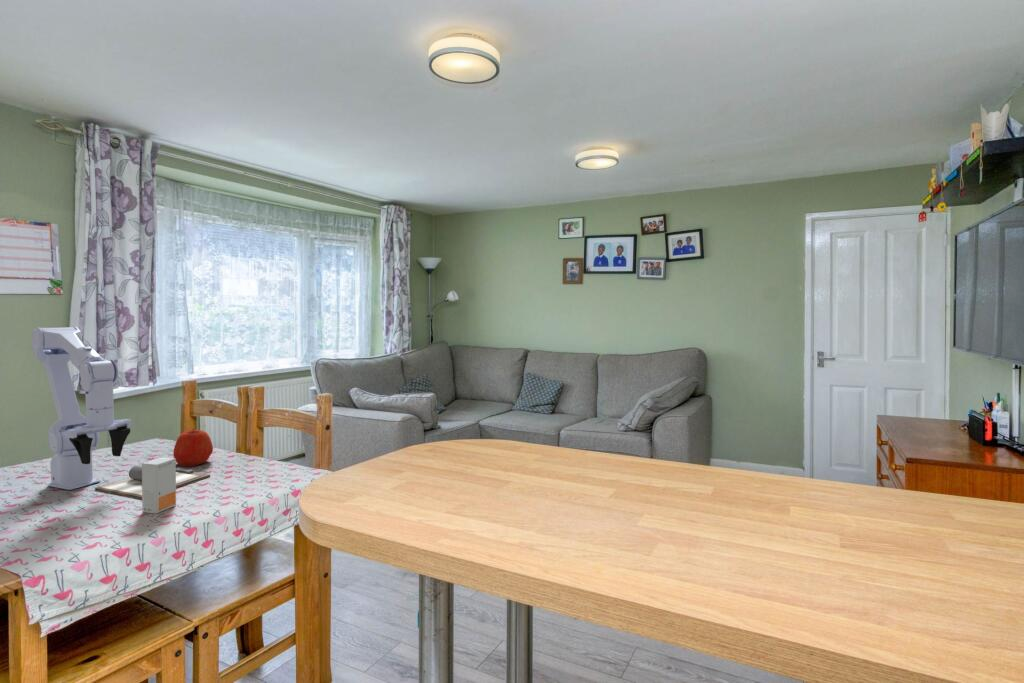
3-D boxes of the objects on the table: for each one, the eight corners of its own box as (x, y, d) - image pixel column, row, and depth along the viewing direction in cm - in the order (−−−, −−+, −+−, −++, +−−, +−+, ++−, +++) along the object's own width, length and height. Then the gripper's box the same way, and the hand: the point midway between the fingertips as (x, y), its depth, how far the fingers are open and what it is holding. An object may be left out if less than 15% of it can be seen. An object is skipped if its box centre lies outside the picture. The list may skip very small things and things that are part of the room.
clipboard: (94, 489, 146) (94, 485, 146) (165, 469, 165) (165, 465, 165) (142, 499, 140) (142, 494, 140) (210, 476, 159) (210, 472, 158)
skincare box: (157, 514, 130) (155, 464, 129) (141, 512, 131) (140, 463, 130) (177, 505, 136) (176, 457, 135) (162, 503, 137) (161, 456, 136)
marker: (130, 481, 153) (123, 472, 151) (141, 472, 156) (134, 462, 154) (164, 487, 148) (157, 478, 146) (174, 477, 151) (168, 468, 149)
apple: (220, 461, 173) (219, 428, 173) (185, 470, 164) (184, 435, 163) (201, 456, 179) (200, 424, 178) (166, 464, 170) (165, 430, 169)
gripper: (80, 413, 132) (81, 469, 133) (138, 404, 146) (140, 454, 147) (60, 411, 135) (62, 465, 136) (120, 402, 148) (121, 451, 149)
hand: (101, 459), depth 141 cm, fingers open, 7 cm apart
